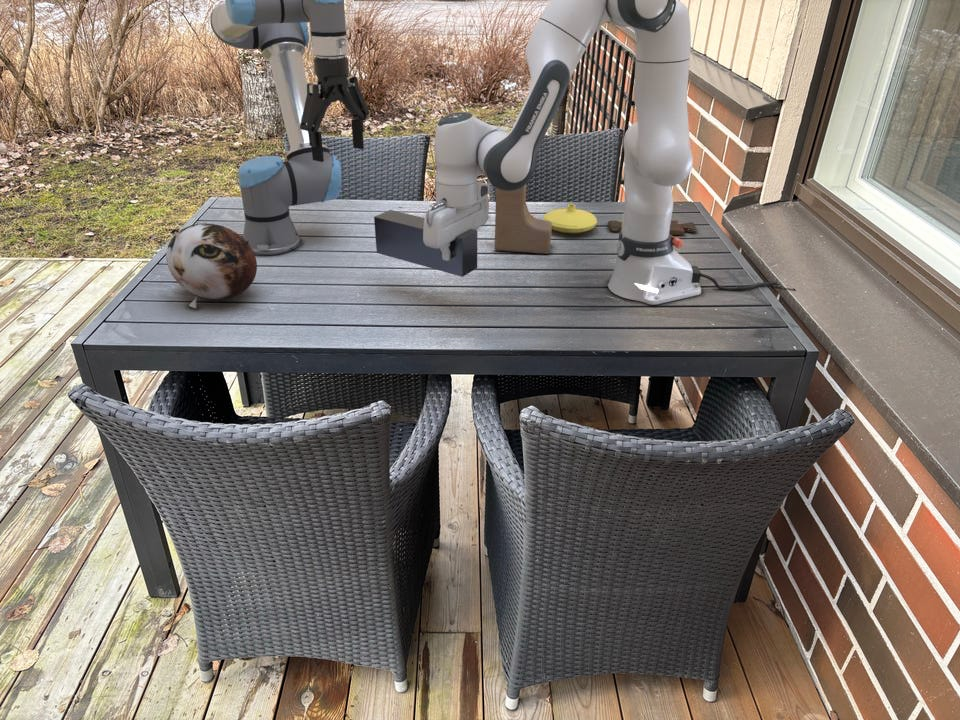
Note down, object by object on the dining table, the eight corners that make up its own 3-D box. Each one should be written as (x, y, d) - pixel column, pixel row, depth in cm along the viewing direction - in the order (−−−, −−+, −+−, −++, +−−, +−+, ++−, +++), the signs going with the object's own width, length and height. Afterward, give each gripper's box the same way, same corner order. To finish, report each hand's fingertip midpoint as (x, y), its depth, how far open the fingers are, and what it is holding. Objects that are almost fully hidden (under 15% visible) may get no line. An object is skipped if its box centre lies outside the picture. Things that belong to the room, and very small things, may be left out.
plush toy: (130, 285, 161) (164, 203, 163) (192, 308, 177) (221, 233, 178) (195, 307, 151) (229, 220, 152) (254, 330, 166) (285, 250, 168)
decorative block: (549, 254, 193) (556, 142, 178) (494, 251, 195) (497, 139, 180) (550, 244, 200) (558, 135, 184) (497, 241, 201) (500, 132, 186)
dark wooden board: (699, 237, 207) (691, 225, 216) (700, 231, 206) (692, 220, 215) (610, 234, 207) (606, 222, 216) (611, 228, 207) (607, 217, 215)
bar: (376, 253, 168) (373, 216, 164) (392, 245, 173) (390, 209, 168) (462, 277, 157) (462, 238, 152) (477, 268, 161) (477, 230, 157)
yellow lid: (559, 216, 220) (561, 193, 217) (605, 227, 212) (608, 204, 209) (532, 230, 209) (533, 207, 206) (580, 242, 201) (582, 218, 198)
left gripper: (301, 65, 145) (312, 169, 156) (380, 51, 163) (385, 145, 174) (275, 61, 149) (287, 163, 159) (356, 48, 167) (362, 141, 178)
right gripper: (439, 209, 143) (441, 273, 150) (494, 183, 157) (493, 243, 165) (414, 203, 146) (417, 266, 153) (470, 179, 160) (470, 237, 168)
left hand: (339, 154), depth 167 cm, fingers open, 13 cm apart
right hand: (457, 254), depth 159 cm, fingers closed on bar, 6 cm apart
